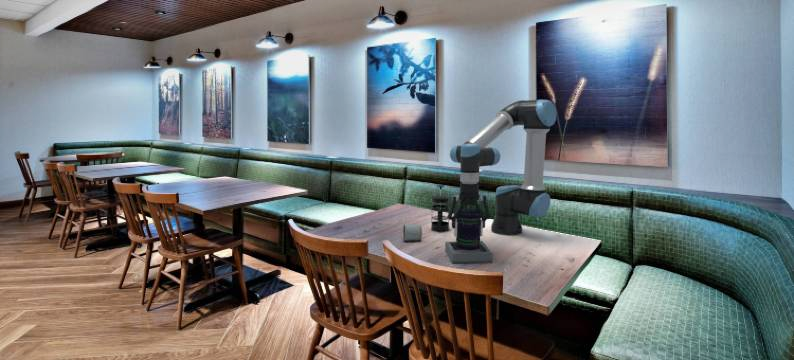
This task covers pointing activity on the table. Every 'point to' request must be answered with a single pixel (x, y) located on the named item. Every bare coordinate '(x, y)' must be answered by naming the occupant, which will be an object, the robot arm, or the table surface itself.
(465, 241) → the storage jar
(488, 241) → the table surface
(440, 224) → the french press
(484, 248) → the tray
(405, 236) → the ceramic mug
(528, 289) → the table surface
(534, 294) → the table surface
